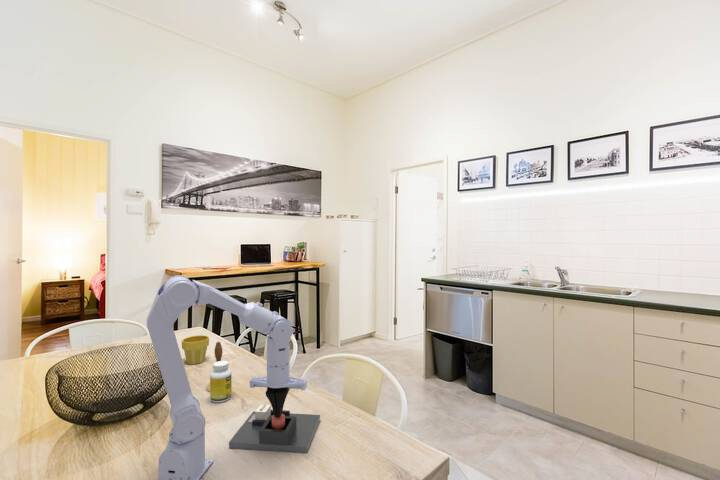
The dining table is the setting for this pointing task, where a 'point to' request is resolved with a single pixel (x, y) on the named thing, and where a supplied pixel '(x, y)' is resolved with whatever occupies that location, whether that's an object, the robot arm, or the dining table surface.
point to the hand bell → (218, 357)
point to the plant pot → (195, 348)
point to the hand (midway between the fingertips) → (278, 415)
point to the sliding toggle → (263, 412)
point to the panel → (277, 433)
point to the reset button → (278, 422)
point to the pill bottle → (220, 382)
